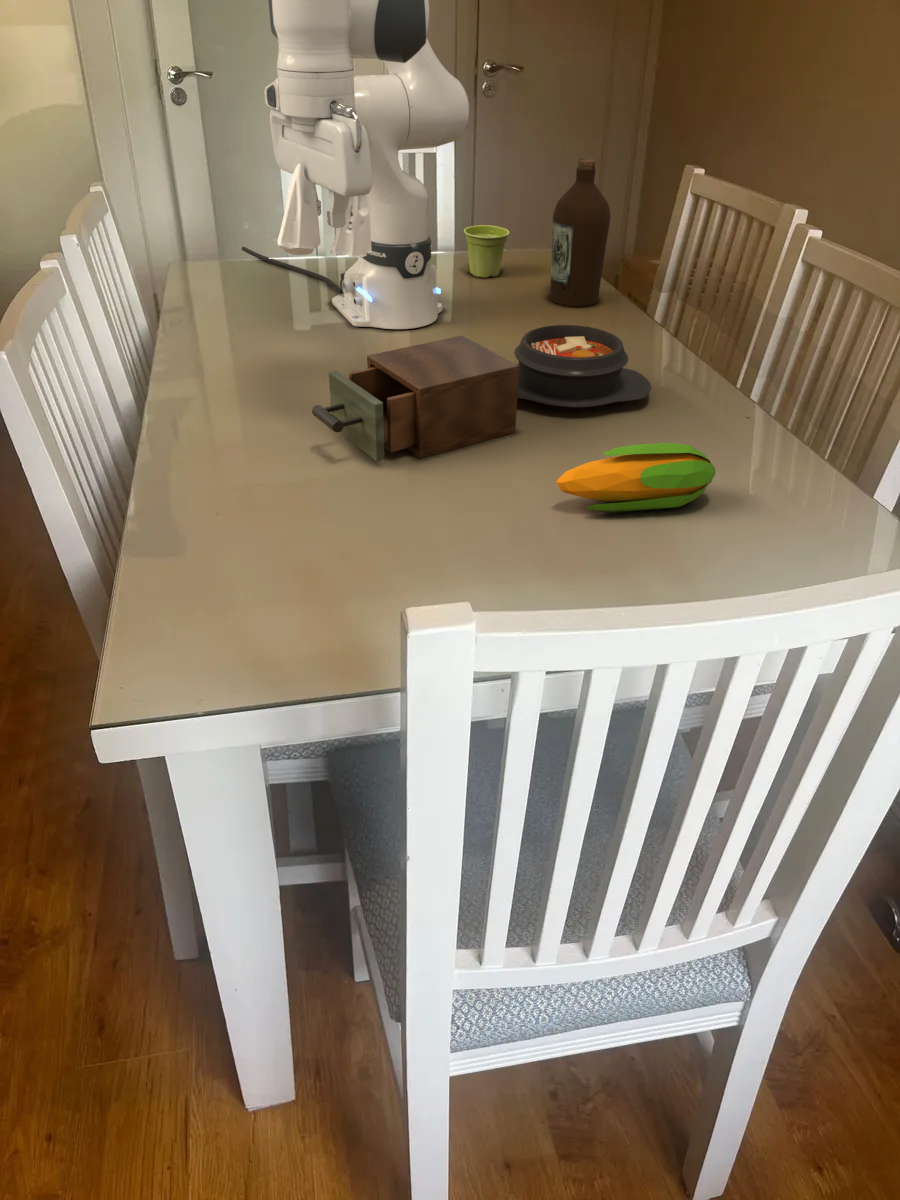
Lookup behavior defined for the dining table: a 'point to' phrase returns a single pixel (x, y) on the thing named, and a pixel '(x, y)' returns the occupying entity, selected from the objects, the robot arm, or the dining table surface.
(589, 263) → the olive oil
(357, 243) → the shaker set
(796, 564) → the dining table surface
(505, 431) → the cabinet
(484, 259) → the plant pot
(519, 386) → the casserole
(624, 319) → the dining table surface
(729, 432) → the dining table surface
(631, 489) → the corn
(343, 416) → the drawer
